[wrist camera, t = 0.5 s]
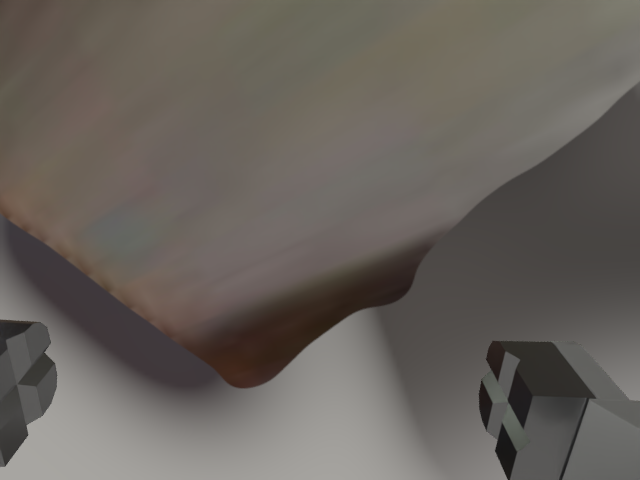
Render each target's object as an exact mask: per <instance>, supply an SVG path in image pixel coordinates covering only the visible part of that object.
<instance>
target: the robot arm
mask: <svg viewBox="0 0 640 480" xmlns="http://www.w3.org/2000/svg"><path fill="white" fill-rule="evenodd" d="M50 343H51V341H50V337H49V333H48V329H47V327H46V326H45V325H44V324H42V323H41V322H30V321H13V320H0V467H5V466H6V465H7V463H8V462H9V461H10V459H11V458H12V456H13V455H14V454H15V452H16V451H17V450H18V448H19V447H20V446H21V444H22V443H23V442H24V440H25V439H26V437H27V436H28V431H27V426H26V425H27V424H29V423H31V422H33V421H34V420H36V419H38V418H40V417H41V416H43V414H44V413H45V411H46V410H47V409H48V407H49V406H50V404H51V402H52V399H53V396H54V393H55V390H56V387H57V371H56V366H55V363H54V362H53V361H52V360H51V359H50V358H49V357H48V356H47V355H46V354H45V353H44V352H45V351H46V349H47V348H48V346H49V345H50ZM486 360H487V362H488V364H489V366H490V368H491V371H490V372H489V373H488V374H487V375H485V377H483V378H482V379H481V385H480V390H479V410H480V414H481V418H482V422H483V424H484V426H485V429H486V431H487V432H488V433H490V434H491V435H492V436H493V437H495V438H496V439H497V440H498V441H497V445H496V449H495V452H496V454H497V457H498V459H499V460H500V463H501V465H502V468H503V470H504V472H505V475H506V477H507V479H508V480H640V401H632V400H629V399H628V397H627V396H626V395H625V394H624V393H623V392H622V391H621V390H620V388H619V387H618V386H617V385H616V384H615V383H614V382H613V381H612V379H611V378H610V377H609V376H608V375H607V374H606V372H605V371H604V370H603V369H602V368H601V367H600V366H599V364H598V363H597V362H596V361H595V360H594V359H593V358H592V356H591V355H590V354H589V353H588V352H587V351H586V350H585V349H584V347H583V346H582V345H580V344H578V343H576V342H574V341H567V342H566V341H565V342H564V341H547V342H535V341H534V342H533V341H529V342H528V341H492V343H491V345H490V346H489V349H488V353H487V357H486Z"/></svg>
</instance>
